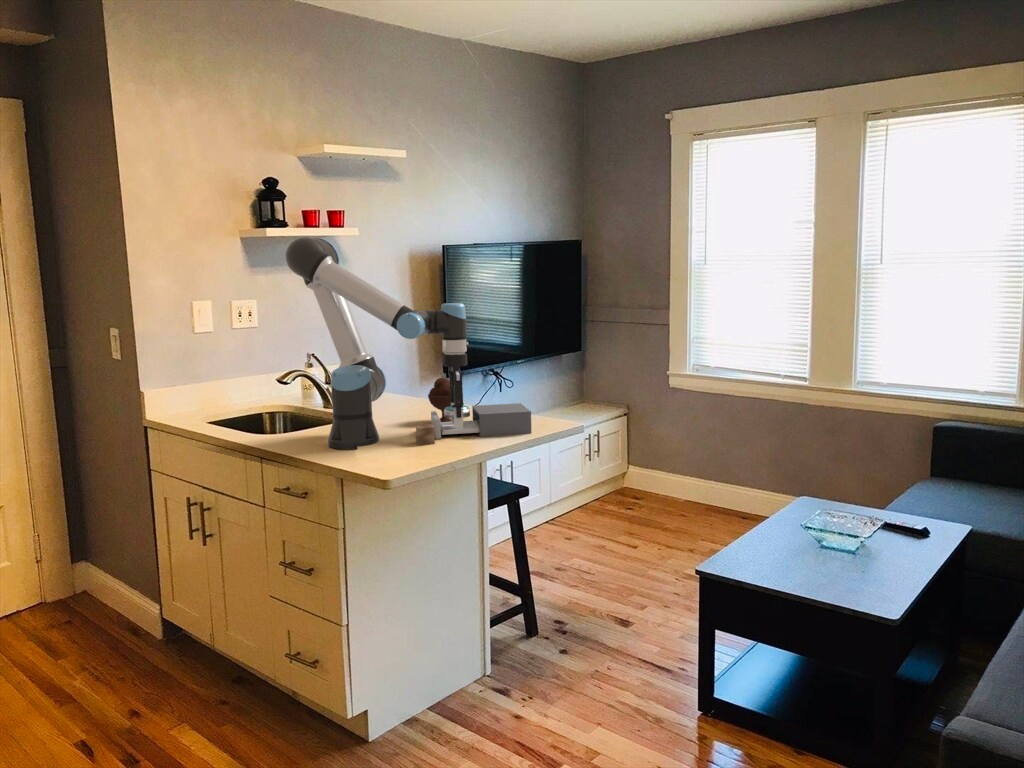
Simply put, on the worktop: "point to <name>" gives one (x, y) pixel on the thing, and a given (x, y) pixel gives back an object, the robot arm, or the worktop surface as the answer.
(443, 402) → the ice cream bowl
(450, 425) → the tray
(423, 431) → the block
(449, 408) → the disc
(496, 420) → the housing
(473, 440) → the worktop surface
